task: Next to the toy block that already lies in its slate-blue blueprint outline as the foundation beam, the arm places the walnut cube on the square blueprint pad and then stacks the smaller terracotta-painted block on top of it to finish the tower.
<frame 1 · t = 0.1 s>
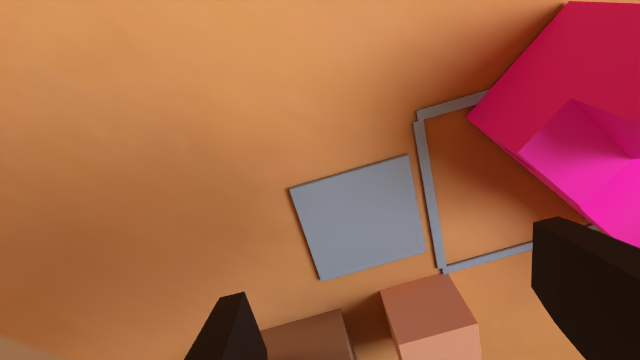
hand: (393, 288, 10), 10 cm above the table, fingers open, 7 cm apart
blueprint outline: (361, 220, 21), on the table
walnut cube: (310, 347, 24), on the table
toy block: (603, 150, 20), on the table, touching blueprint outline
terracotta block: (417, 305, 24), on the table
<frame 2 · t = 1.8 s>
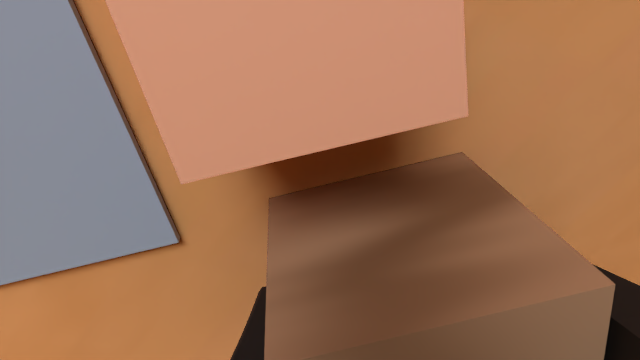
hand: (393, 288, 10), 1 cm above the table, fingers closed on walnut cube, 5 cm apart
blueprint outline: (0, 160, 9), on the table
walnut cube: (379, 253, 11), on the table, touching gripper
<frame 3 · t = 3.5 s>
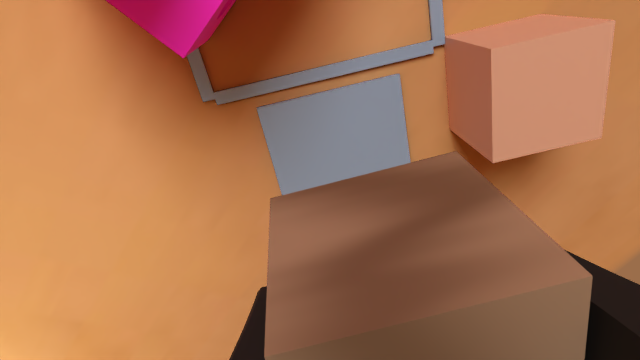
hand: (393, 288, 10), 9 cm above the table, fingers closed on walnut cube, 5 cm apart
blueprint outline: (341, 155, 18), on the table
walnut cube: (378, 250, 11), point 7 cm above the table, touching gripper
terracotta block: (491, 74, 17), on the table
when the fingers open (3 cm above the table, at t = 5.1 s): walnut cube stays where it is, resting on blueprint outline.
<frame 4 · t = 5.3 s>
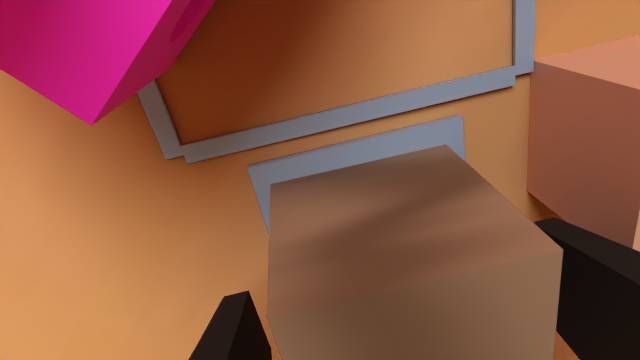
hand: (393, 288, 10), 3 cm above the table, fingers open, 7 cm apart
blueprint outline: (370, 229, 12), on the table
walnut cube: (370, 237, 12), resting on blueprint outline
terracotta block: (594, 113, 11), on the table
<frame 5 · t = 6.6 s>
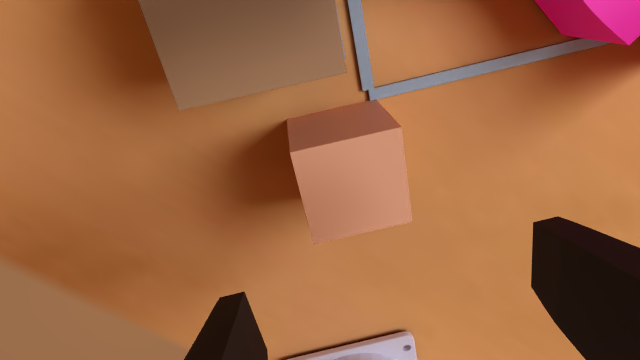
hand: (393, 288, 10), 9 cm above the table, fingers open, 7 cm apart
terracotta block: (339, 150, 18), on the table
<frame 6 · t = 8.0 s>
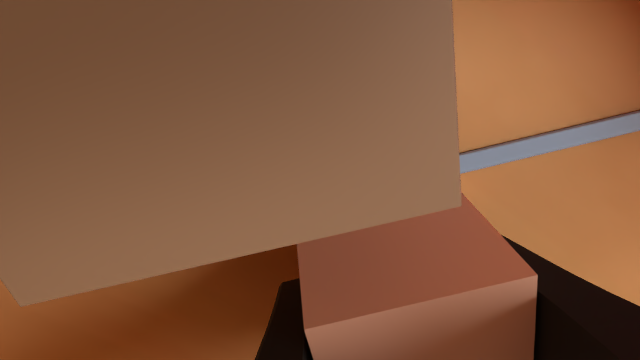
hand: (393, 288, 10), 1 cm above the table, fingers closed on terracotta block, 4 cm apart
blueprint outline: (233, 3, 8), on the table
walnut cube: (224, 2, 8), resting on blueprint outline
terracotta block: (380, 254, 11), on the table, touching gripper
when the fingers open (8 cm above the table, at t = 10.0 s): terracotta block stays where it is, resting on walnut cube.
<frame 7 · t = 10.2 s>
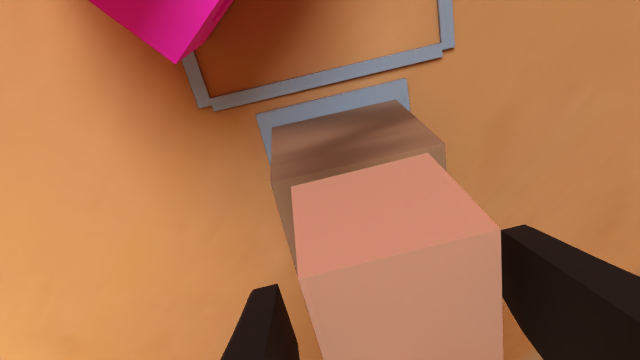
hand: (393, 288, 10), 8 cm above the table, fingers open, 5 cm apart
blueprint outline: (344, 164, 17), on the table
walnut cube: (344, 169, 17), resting on blueprint outline, touching terracotta block
terracotta block: (370, 227, 12), point 5 cm above the table, touching walnut cube
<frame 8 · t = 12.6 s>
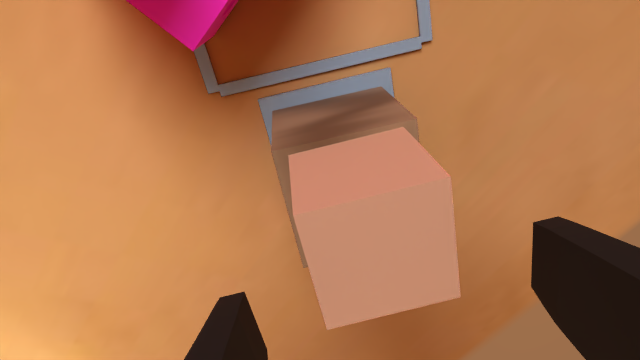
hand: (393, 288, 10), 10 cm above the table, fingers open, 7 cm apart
blueprint outline: (336, 144, 19), on the table
walnut cube: (336, 149, 19), resting on blueprint outline, touching terracotta block
terracotta block: (356, 191, 14), point 5 cm above the table, touching walnut cube
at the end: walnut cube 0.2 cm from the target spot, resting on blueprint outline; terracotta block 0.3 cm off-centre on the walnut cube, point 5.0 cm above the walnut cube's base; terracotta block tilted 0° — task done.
